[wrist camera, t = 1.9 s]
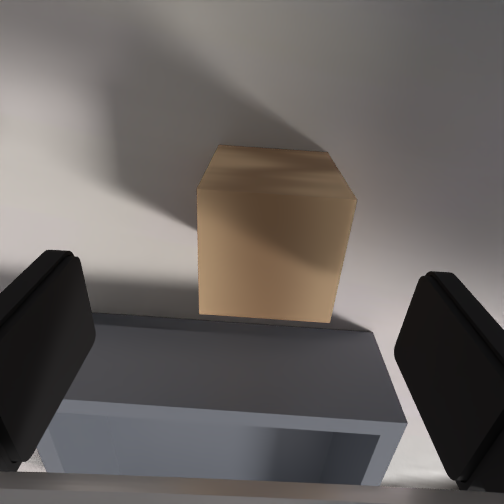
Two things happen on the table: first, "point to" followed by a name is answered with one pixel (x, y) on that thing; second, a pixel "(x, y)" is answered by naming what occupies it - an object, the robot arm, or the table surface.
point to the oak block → (271, 233)
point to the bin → (227, 404)
